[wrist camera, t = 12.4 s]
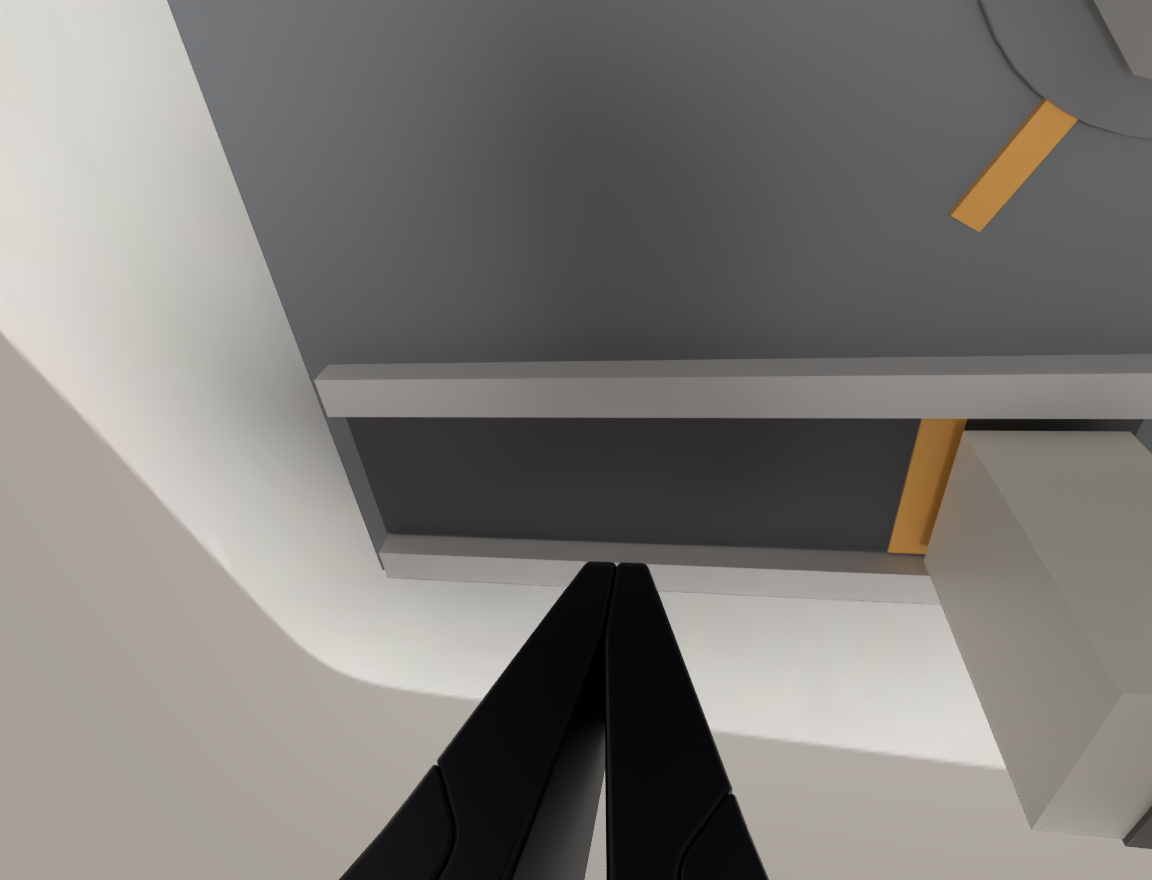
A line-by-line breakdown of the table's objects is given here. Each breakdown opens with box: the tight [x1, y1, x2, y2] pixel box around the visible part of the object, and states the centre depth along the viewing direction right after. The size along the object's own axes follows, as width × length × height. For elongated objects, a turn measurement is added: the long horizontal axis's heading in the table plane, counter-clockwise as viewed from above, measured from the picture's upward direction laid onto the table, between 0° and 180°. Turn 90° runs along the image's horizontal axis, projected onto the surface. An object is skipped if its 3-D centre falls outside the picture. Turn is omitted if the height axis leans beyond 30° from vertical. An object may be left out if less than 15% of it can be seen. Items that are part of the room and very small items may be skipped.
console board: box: [167, 0, 1152, 605], centre depth 10 cm, size 17×15×3 cm
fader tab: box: [924, 431, 1152, 849], centre depth 9 cm, size 2×3×5 cm
